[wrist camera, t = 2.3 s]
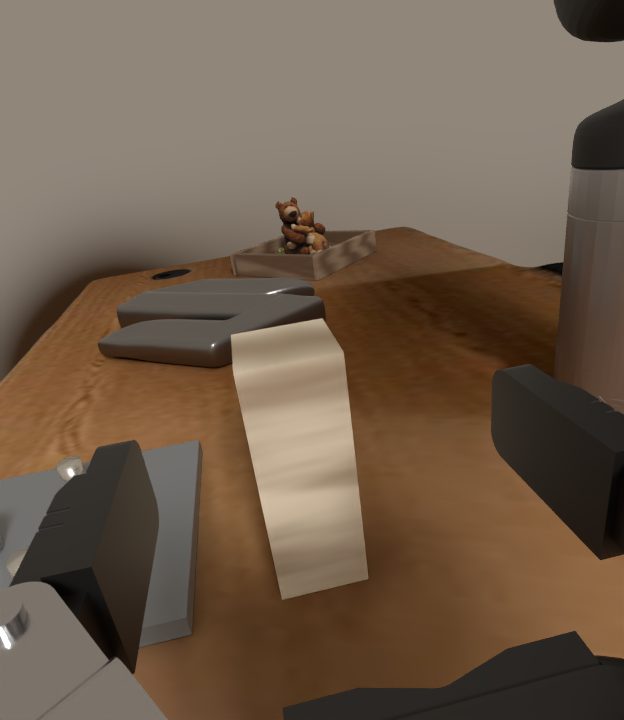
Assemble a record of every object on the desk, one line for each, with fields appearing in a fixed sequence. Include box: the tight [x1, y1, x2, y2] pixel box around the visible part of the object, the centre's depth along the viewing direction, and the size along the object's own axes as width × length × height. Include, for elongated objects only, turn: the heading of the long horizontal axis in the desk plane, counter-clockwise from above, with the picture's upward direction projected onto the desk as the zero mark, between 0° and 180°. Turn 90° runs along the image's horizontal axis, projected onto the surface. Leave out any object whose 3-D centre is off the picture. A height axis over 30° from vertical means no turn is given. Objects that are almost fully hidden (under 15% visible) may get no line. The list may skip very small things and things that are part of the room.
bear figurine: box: [275, 198, 331, 255], centre depth 93 cm, size 14×15×12 cm
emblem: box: [98, 278, 326, 367], centre depth 64 cm, size 28×5×28 cm
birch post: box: [231, 318, 369, 600], centre depth 25 cm, size 5×5×13 cm
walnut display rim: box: [230, 230, 376, 280], centre depth 93 cm, size 20×19×4 cm
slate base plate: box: [0, 440, 202, 647], centre depth 29 cm, size 16×16×4 cm
